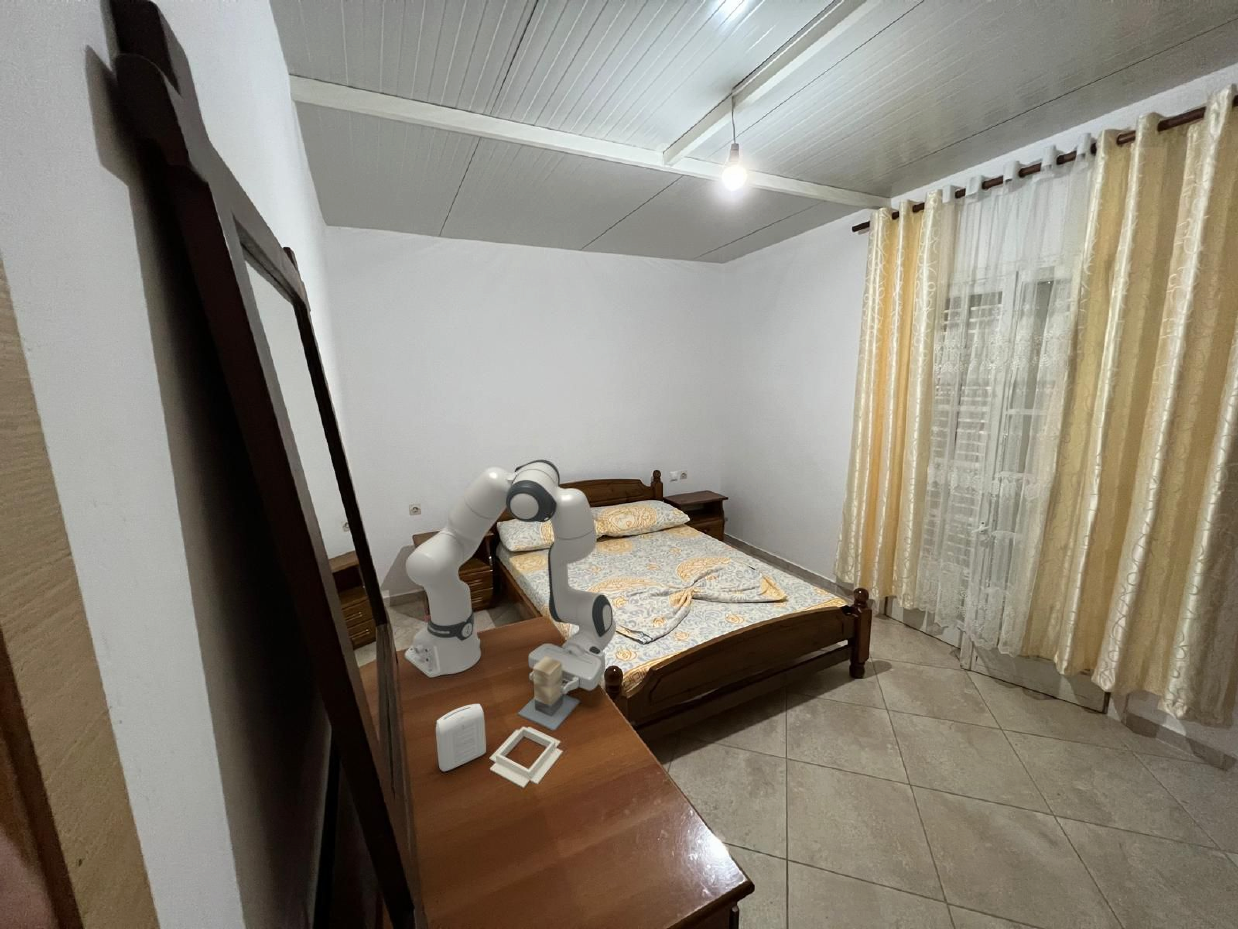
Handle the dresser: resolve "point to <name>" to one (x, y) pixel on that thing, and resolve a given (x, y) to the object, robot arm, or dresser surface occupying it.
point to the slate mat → (547, 720)
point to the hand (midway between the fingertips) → (546, 684)
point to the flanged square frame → (519, 772)
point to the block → (548, 686)
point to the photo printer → (460, 736)
